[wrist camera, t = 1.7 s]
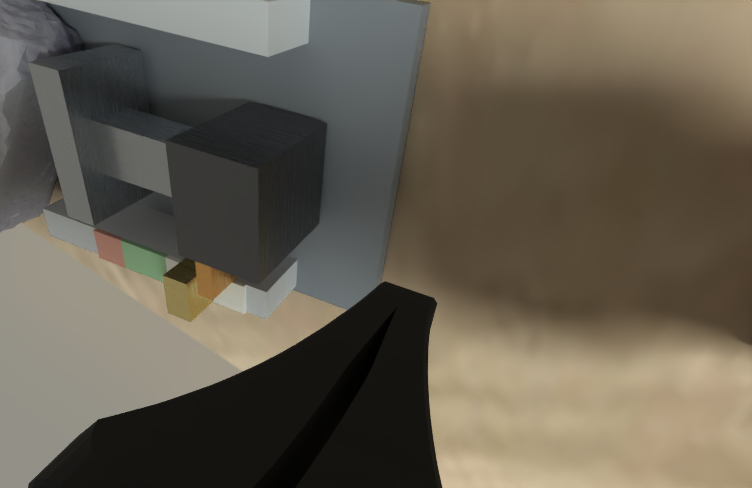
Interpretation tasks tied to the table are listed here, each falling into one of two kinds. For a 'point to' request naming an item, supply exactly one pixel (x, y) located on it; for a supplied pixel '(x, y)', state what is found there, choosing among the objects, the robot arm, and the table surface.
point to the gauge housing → (280, 91)
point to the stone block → (26, 107)
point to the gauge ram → (182, 165)
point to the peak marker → (184, 291)
